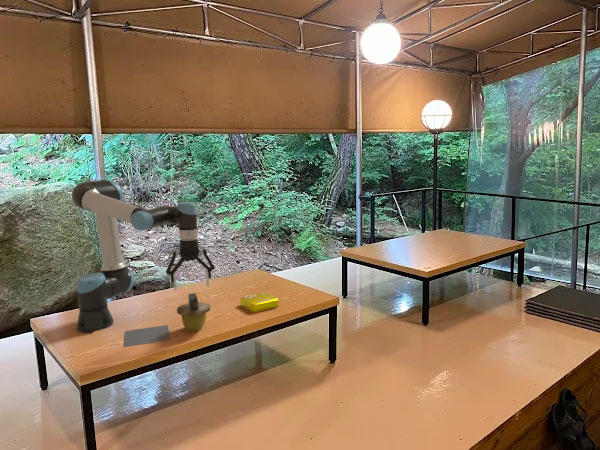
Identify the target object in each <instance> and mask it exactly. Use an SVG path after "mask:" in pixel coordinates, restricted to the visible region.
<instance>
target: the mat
mask: <svg viewBox="0 0 600 450" xmlns="http://www.w3.org/2000/svg"><path fill="white" fill-rule="evenodd" d="M123 336H124V338H123V345H122V347H123V348H126V347H134V346H140V345H147V344H154V343H161V342H167V341H171V337H170V330H169V325H168V324H167V325H166V324H165V325H159V326H152V327H147V328H146V327H145V328H143V327H142V328H138V329H130V330H124V335H123Z"/></svg>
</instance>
